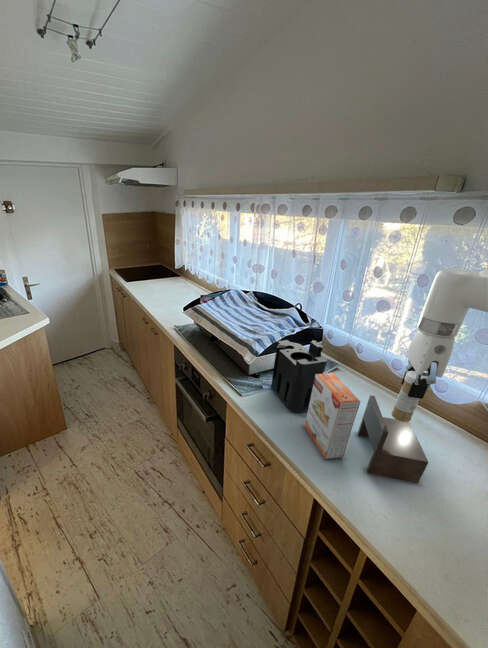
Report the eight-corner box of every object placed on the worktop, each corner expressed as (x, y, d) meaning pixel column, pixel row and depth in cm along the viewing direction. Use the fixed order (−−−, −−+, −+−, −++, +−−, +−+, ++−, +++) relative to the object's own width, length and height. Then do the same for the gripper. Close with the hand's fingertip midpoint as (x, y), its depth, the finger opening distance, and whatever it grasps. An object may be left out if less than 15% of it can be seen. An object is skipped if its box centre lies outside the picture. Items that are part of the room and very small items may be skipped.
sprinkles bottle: (402, 411, 84) (419, 369, 77) (414, 422, 80) (433, 379, 73) (386, 412, 84) (402, 370, 77) (398, 423, 80) (415, 380, 73)
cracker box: (302, 426, 100) (314, 372, 90) (320, 425, 100) (334, 371, 90) (323, 460, 88) (339, 401, 78) (343, 458, 88) (362, 400, 78)
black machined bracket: (292, 415, 105) (302, 360, 94) (265, 382, 123) (271, 333, 112) (322, 410, 107) (336, 355, 97) (292, 378, 125) (300, 329, 114)
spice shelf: (400, 441, 94) (417, 402, 87) (417, 483, 80) (439, 441, 73) (357, 433, 97) (370, 395, 90) (367, 473, 84) (383, 431, 76)
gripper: (476, 343, 61) (442, 414, 70) (442, 313, 75) (417, 376, 84) (433, 338, 63) (404, 408, 72) (407, 310, 77) (386, 372, 86)
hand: (411, 390), depth 78 cm, fingers closed on sprinkles bottle, 4 cm apart
